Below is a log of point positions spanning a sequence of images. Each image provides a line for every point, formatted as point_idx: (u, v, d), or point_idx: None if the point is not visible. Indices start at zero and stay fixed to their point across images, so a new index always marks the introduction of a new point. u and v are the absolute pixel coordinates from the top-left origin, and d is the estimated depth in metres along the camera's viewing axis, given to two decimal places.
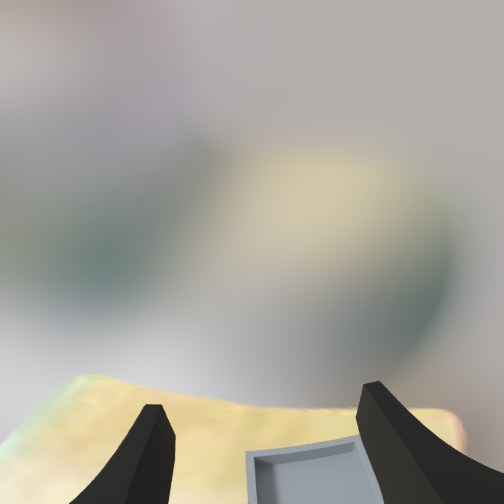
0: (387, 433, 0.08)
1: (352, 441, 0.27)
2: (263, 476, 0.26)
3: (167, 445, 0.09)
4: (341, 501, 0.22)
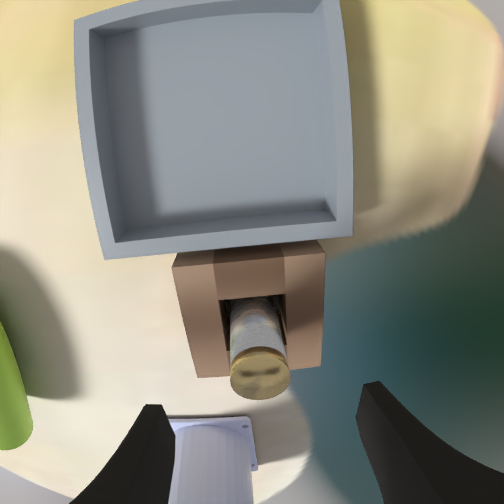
0: (387, 433, 0.08)
1: None
2: (119, 59, 0.12)
3: (167, 445, 0.09)
4: (270, 128, 0.14)
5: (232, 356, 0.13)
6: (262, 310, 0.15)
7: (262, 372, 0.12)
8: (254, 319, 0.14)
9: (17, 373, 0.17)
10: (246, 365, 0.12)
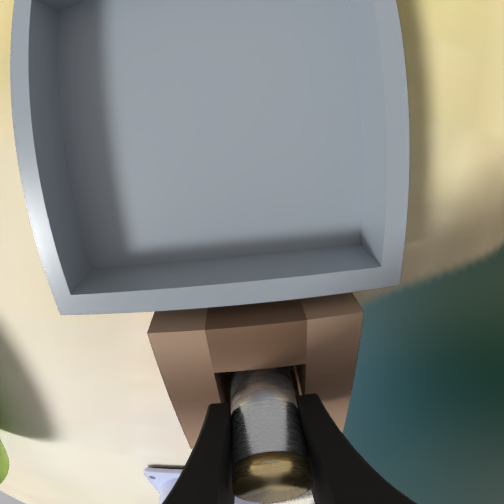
0: (313, 449, 0.08)
1: None
2: (74, 37, 0.08)
3: None
4: (287, 129, 0.10)
5: (234, 457, 0.08)
6: (274, 386, 0.10)
7: (276, 483, 0.07)
8: (264, 403, 0.09)
9: None
10: (254, 478, 0.07)
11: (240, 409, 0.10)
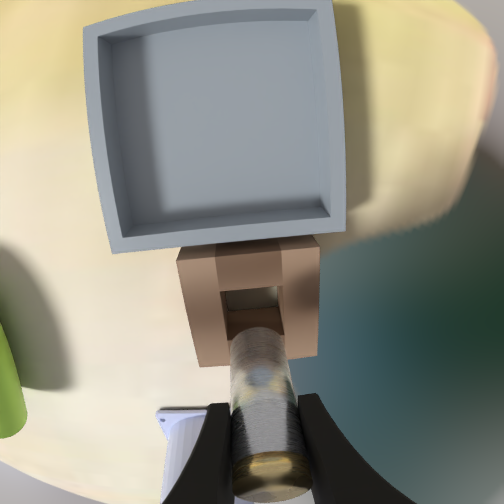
0: (313, 449, 0.08)
1: (312, 8, 0.11)
2: (125, 64, 0.13)
3: None
4: (268, 130, 0.15)
5: (234, 457, 0.08)
6: (274, 386, 0.10)
7: (276, 483, 0.07)
8: (264, 403, 0.09)
9: (12, 364, 0.18)
10: (254, 478, 0.07)
11: (240, 409, 0.10)
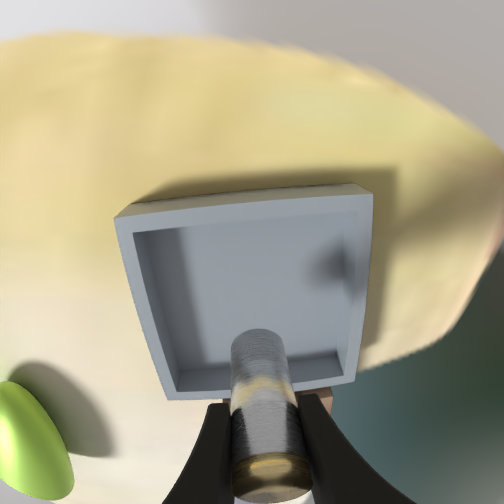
0: (313, 449, 0.08)
1: (352, 209, 0.14)
2: (161, 244, 0.16)
3: None
4: (298, 306, 0.18)
5: (234, 458, 0.08)
6: (273, 387, 0.10)
7: (275, 484, 0.07)
8: (263, 404, 0.09)
9: (64, 448, 0.21)
10: (254, 479, 0.07)
11: (240, 410, 0.10)
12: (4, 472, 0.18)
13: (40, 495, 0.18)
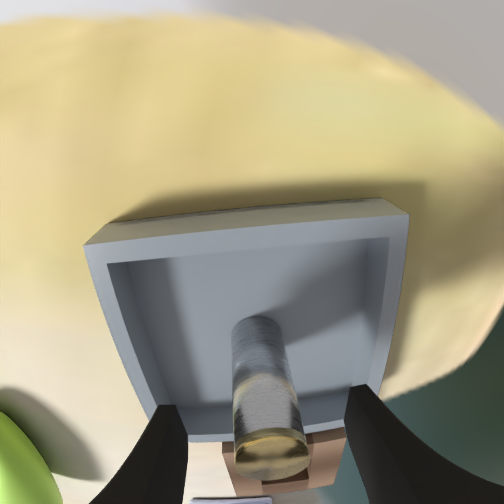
0: (372, 437, 0.08)
1: (384, 234, 0.11)
2: (146, 273, 0.13)
3: (181, 445, 0.09)
4: (310, 343, 0.15)
5: (236, 435, 0.09)
6: (272, 369, 0.11)
7: (275, 458, 0.08)
8: (263, 384, 0.10)
9: (49, 475, 0.18)
10: (255, 453, 0.08)
11: (241, 391, 0.11)
12: None
13: None
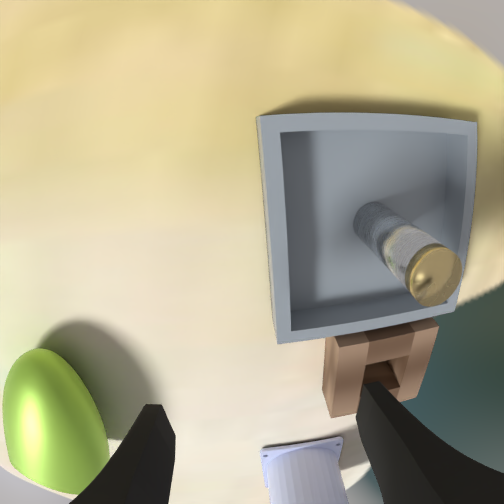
0: (387, 433, 0.08)
1: (464, 133, 0.13)
2: (291, 158, 0.15)
3: (167, 445, 0.09)
4: None
5: (407, 258, 0.11)
6: (409, 222, 0.13)
7: (443, 268, 0.10)
8: (410, 226, 0.13)
9: (104, 429, 0.20)
10: (432, 259, 0.10)
11: (393, 235, 0.13)
12: (27, 463, 0.17)
13: (71, 489, 0.18)
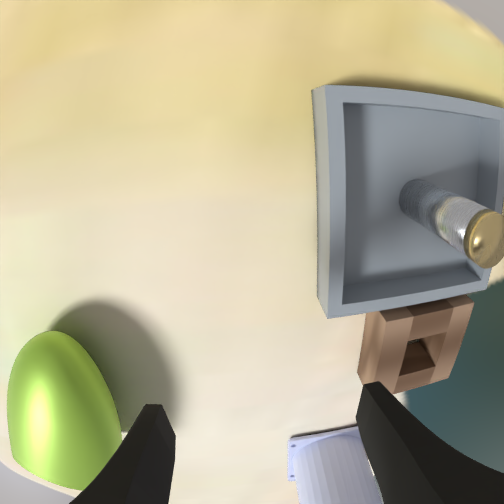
0: (387, 433, 0.08)
1: (496, 118, 0.13)
2: (345, 131, 0.15)
3: (167, 445, 0.09)
4: None
5: (464, 222, 0.11)
6: (457, 194, 0.13)
7: (497, 231, 0.10)
8: (460, 197, 0.12)
9: (118, 419, 0.19)
10: (489, 221, 0.10)
11: (446, 203, 0.12)
12: (33, 458, 0.16)
13: (80, 485, 0.17)
